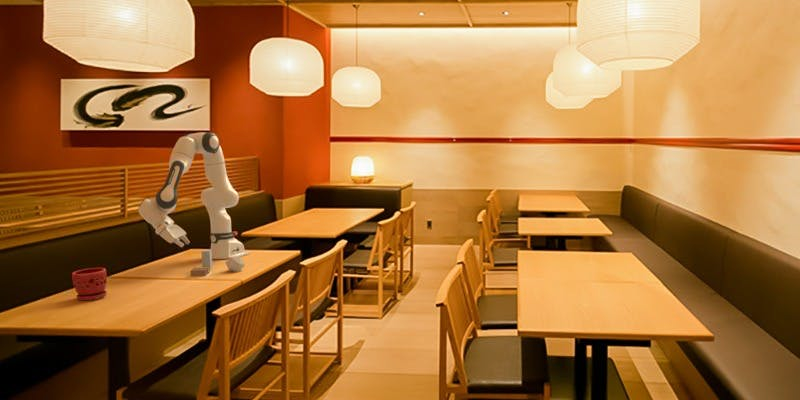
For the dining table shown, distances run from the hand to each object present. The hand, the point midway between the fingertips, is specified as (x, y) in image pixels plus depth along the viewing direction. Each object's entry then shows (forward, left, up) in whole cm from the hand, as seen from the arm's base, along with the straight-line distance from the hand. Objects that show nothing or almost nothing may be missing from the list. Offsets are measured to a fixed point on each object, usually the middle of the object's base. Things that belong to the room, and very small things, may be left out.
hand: (185, 244), depth 334 cm
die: (-11, +23, -14) cm, 29 cm away
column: (-6, +8, -13) cm, 17 cm away
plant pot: (+59, +12, -14) cm, 61 cm away
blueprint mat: (+4, +16, -13) cm, 21 cm away
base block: (+5, +16, -13) cm, 21 cm away
